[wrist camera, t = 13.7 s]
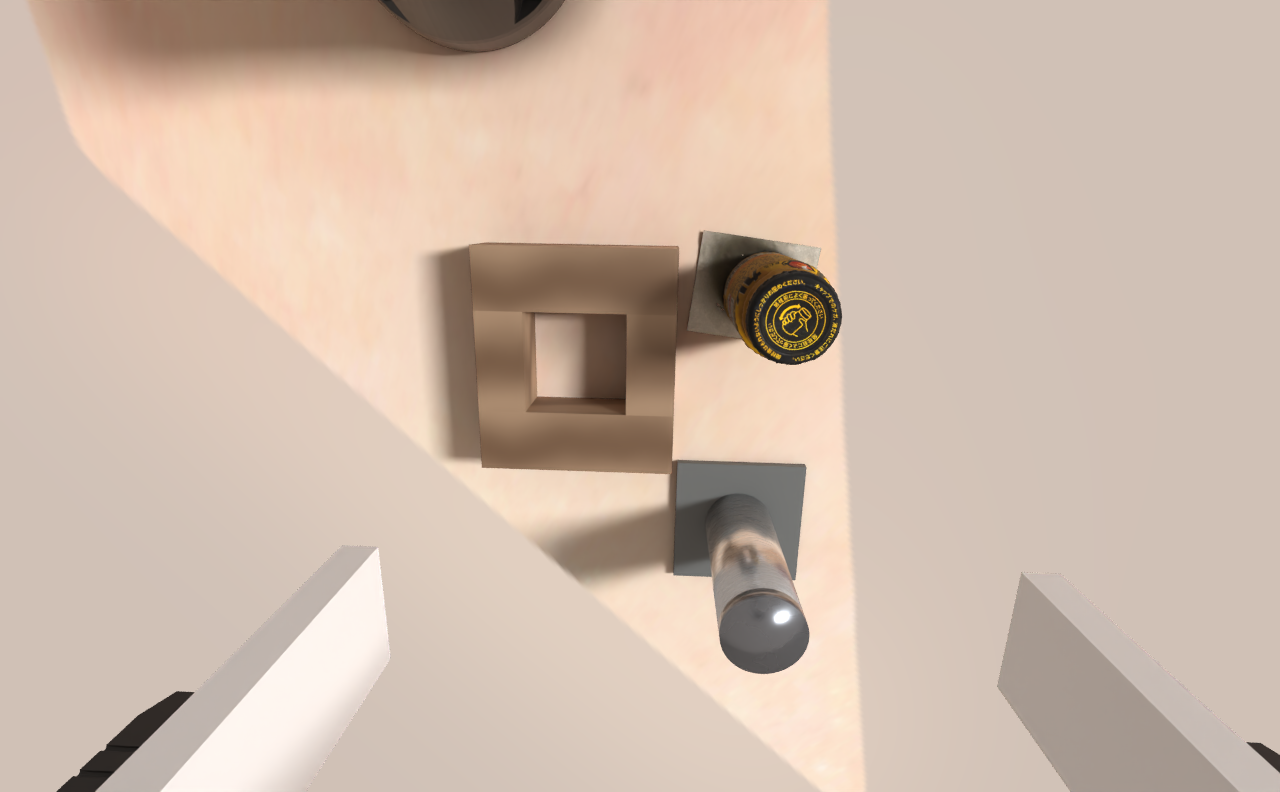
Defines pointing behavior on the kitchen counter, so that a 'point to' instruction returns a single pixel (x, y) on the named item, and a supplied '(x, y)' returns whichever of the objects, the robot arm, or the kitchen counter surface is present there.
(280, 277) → the kitchen counter surface
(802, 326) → the condiment
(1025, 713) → the robot arm
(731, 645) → the plug
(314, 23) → the kitchen counter surface
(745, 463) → the mat
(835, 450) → the kitchen counter surface
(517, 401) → the housing
